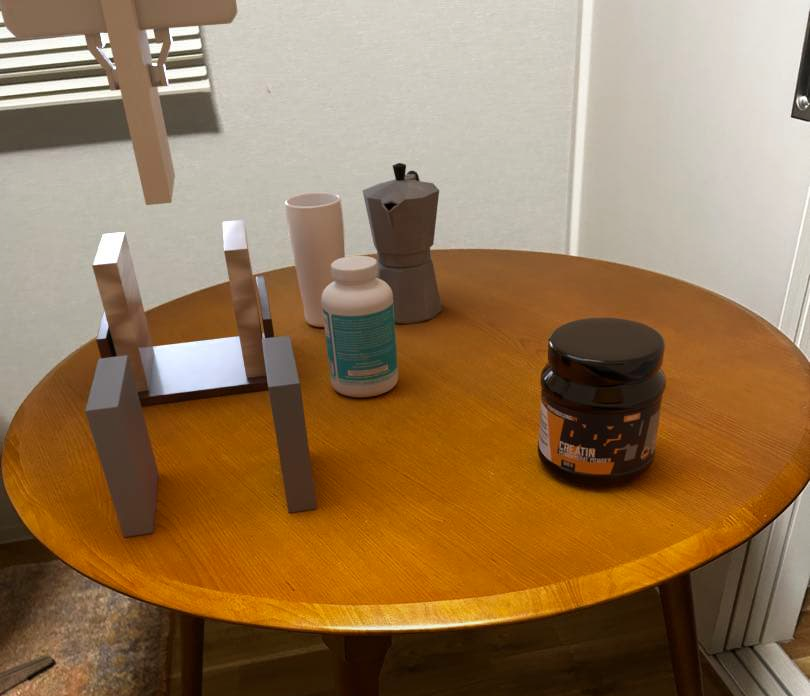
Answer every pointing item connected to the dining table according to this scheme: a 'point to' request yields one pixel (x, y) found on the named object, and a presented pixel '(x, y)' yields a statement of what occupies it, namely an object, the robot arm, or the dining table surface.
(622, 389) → the supplement container
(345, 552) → the dining table surface
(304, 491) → the grey books
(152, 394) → the book rack
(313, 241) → the drinking glass
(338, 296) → the pill bottle
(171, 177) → the white book
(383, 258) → the coffeepot
